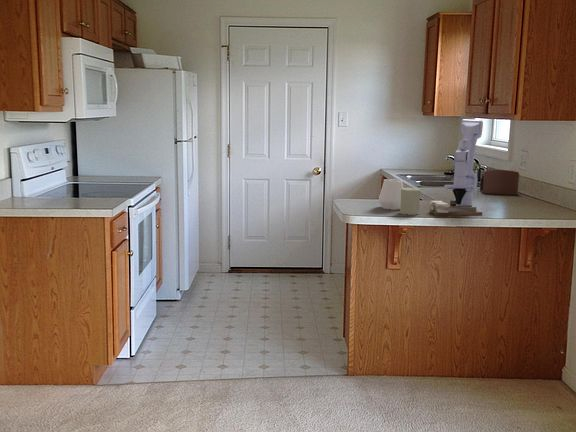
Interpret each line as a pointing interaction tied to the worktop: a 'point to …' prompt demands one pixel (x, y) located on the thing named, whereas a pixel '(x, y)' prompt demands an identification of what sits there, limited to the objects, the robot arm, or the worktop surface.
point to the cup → (391, 194)
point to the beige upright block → (410, 201)
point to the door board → (452, 209)
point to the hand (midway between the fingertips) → (458, 204)
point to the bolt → (451, 203)
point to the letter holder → (500, 182)
